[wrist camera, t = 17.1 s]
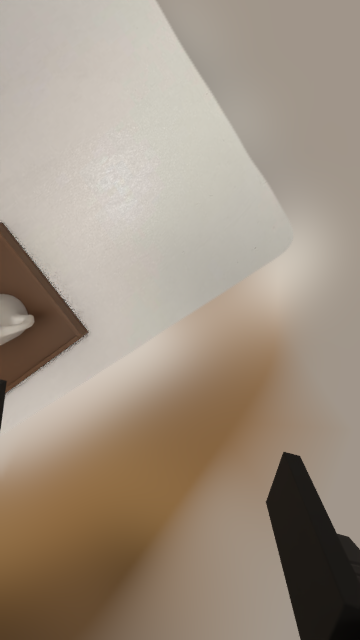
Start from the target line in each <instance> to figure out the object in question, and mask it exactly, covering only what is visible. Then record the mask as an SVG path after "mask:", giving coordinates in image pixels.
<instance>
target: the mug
mask: <svg viewBox="0 0 360 640" xmlns="http://www.w3.org/2000/svg"><path fill="white" fill-rule="evenodd" d="M33 324H34V317H33V315H28V313H27V310H26V308H25V306H24V305H23V303H22V302H21V301H20V300H19V299H17V298H16V297H14V296H11V295H7V294H0V345H2V344H4V343H6V342H8V341H10V340H12V339H14V338H16V337H17V336H19V335H21V334H22V333H23V332H24V331H25V329H27V328H29V327H31V326H32V325H33Z"/></svg>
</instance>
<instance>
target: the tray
mask: <svg viewBox="0 0 360 640" xmlns="http://www.w3.org/2000/svg"><path fill="white" fill-rule="evenodd" d="M0 294H7V295H11V296H14V297H16V298H17V299H19V300H20V301H21V302H22V303H23V305H24V306H25V308H26V310H27V313H28V315H33V317H34V324H33V325H32V326H31V327H29V328H27V329H25V331H24V332H23V333H22V334H21V335H19V336H17V337H16V338H14V339H12V340H10V341H8V342H6V343H4V344H2V345H0V379H1V380H5V381H7V384H6V391H5V393H6V392H8V391H9V390H10V389H12V388H13V387H15V386H16V385H17V384H19V383H20V382H21V381H23V380H24V379H25V378H27V377H28V376H30V375H31V374H32V373H34V372H35V371H36V370H38V369H39V368H40V367H42V366H43V365H45V364H46V363H47V362H49V361H50V360H51V359H53V358H54V357H55V356H57V355H58V354H60V353H61V352H62V351H64V350H65V349H66V348H68V347H69V346H70V345H72V344H73V343H75V342H76V341H77V340H79V339H80V338H81V337H83V336H84V335H85V334H87V333H88V331H87V330H86V328H85V327H84V326H83V325H82V323H81V322H80V321H79V320H78V318H77V317H76V316H75V314H74V313H73V312H72V311H71V309H70V308H69V307H68V306H67V304H66V303H65V302H64V300H63V299H62V298H61V297H60V295H59V294H58V293H57V292H56V290H55V289H54V288H53V286H52V285H51V284H50V283H49V281H48V280H47V279H46V278H45V276H44V275H43V274H42V273H41V271H40V270H39V269H38V267H37V266H36V265H35V264H34V262H33V261H32V260H31V259H30V257H29V256H28V255H27V253H26V252H25V251H24V250H23V248H22V247H21V246H20V245H19V243H18V242H17V241H16V239H15V238H14V237H13V236H12V234H11V233H10V232H9V231H8V229H7V228H6V227H5V226H4V224H3V223H0Z"/></svg>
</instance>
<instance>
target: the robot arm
mask: <svg viewBox="0 0 360 640" xmlns="http://www.w3.org/2000/svg"><path fill="white" fill-rule="evenodd" d="M6 384H7V381H5V380H1V379H0V429H1V421H2V414H3V406H4V399H5V391H6ZM266 504H267V508H268V512H269V516H270V520H271V524H272V528H273V531H274V536H275V540H276V543H277V548H278V551H279V555H280V560H281V564H282V568H283V571H284V575H285V579H286V583H287V587H288V591H289V595H290V599H291V603H292V607H293V611H294V615H295V619H296V623H297V627H298V631H299V635H300V639H301V640H360V550H359V548H358V547H357V546H356V545H355V543H353V541H352V540H351V539H350V538H349V537H347V536H344V535H340V534H337V533H336V531H335V529H334V527H333V525H332V523H331V521H330V518H329V516H328V514H327V512H326V510H325V508H324V506H323V504H322V502H321V499H320V497H319V495H318V493H317V491H316V489H315V487H314V485H313V483H312V480H311V478H310V476H309V474H308V472H307V470H306V468H305V466H304V464H303V462H302V459H301V458H300V456H297V455H294V454H290V453H286V452H283V455H282V458H281V461H280V464H279V466H278V469H277V472H276V475H275V478H274V481H273V484H272V486H271V489H270V492H269V495H268V498H267V501H266Z"/></svg>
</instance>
